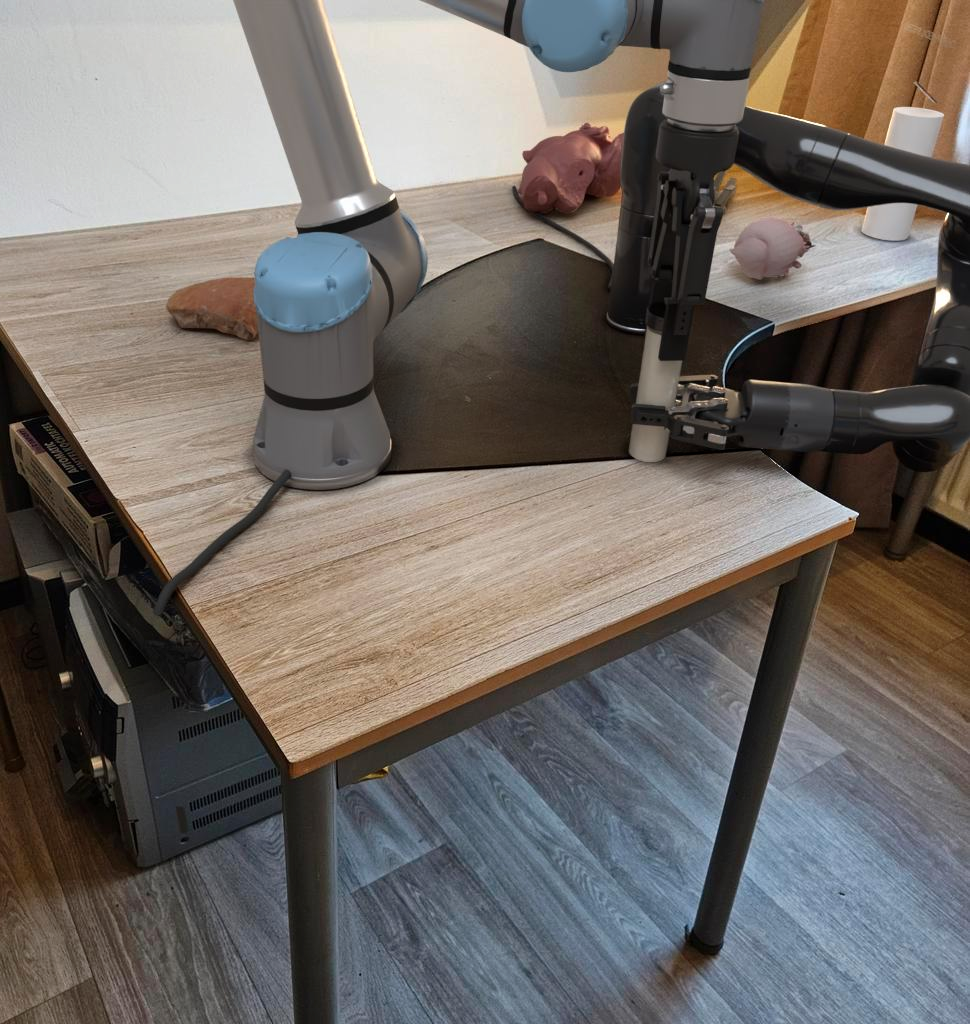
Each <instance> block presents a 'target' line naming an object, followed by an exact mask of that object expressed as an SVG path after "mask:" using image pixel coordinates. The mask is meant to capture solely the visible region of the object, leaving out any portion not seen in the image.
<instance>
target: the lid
mask: <svg viewBox="0 0 970 1024" xmlns="http://www.w3.org/2000/svg"><path fill="white" fill-rule="evenodd" d="M665 311H666V304H665V302H659V303H654V304H651V305H649V306H648V308H647V313H646V320H645V323H646V325H647V326H648V327H649V328H651V329H653V330H656V331H659V332H662V330H663V323H664V317H665ZM693 317H694V315H693V316H692V318H693ZM692 322H693V320H692V321H691V324H692ZM691 327H692V326H691ZM691 327H690V329H691Z"/></svg>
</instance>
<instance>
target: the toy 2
mask: <svg viewBox="0 0 970 1024" xmlns="http://www.w3.org/2000/svg"><path fill="white" fill-rule="evenodd" d="M817 246H818V245H817V244H813V243H812V240H811V236H810V234H809V232H808V231H807V232H805V231H804V227H803V226H802V225H800V224H799V223H798V222H796V221H794V222H791V224H790V223H789V222H788V221H787V220H785V219H782V218H779V217H776V216H761V217H758V218H756V219H755V220H753V221H752V222H750V223H749V224H747V225H746V227H744V229H743V230H742V231H741V233H740V234H739V236H738V238H737V239H736V240H735V242H734V245H733V248H729V252H730V253H731V254H732V255H733V256H734V258H735V260H736V261H737V263H738V265H739V266H740V269H741V271H742V272H743V273H744V275H745V276H747V277H748V278H751V279H755V280H762V279H764V278H765V277H766V278H768V277H769V278H771V277H772V278H773V277H774V278H778V279H779V278H780V276H783V277H782V278H785V277H786V276H788V275H789V274H790V269H791V268H793V267H794V268H795V269H801V268H802V266H803V265H802V263H801V262H800V261H799V259H802V258H803V256H804V255H805V254H806V253H808V252H809V251H810V249H811V248H815V247H817Z"/></svg>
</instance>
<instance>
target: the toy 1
mask: <svg viewBox="0 0 970 1024" xmlns="http://www.w3.org/2000/svg"><path fill="white" fill-rule="evenodd" d="M727 171H728V170H726V171H721V172H719V173H717V174H716V175H715V177H714V190H715V197H714V204H713V207H722V209H723V216H724V215H725V212H726V204H727V203H728V201H729V199H730V198H731V197H732V196H734V195H735V194H736V193H737V188H738V185H736V182H737V177H732V176H731V177H730V178H729V179H728V180H727V182H726V183H725V185H724V187H723V188H722V190H719V189H720V188H721V186H722V184H723V181H724V180H725V178H726V176H727Z"/></svg>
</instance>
